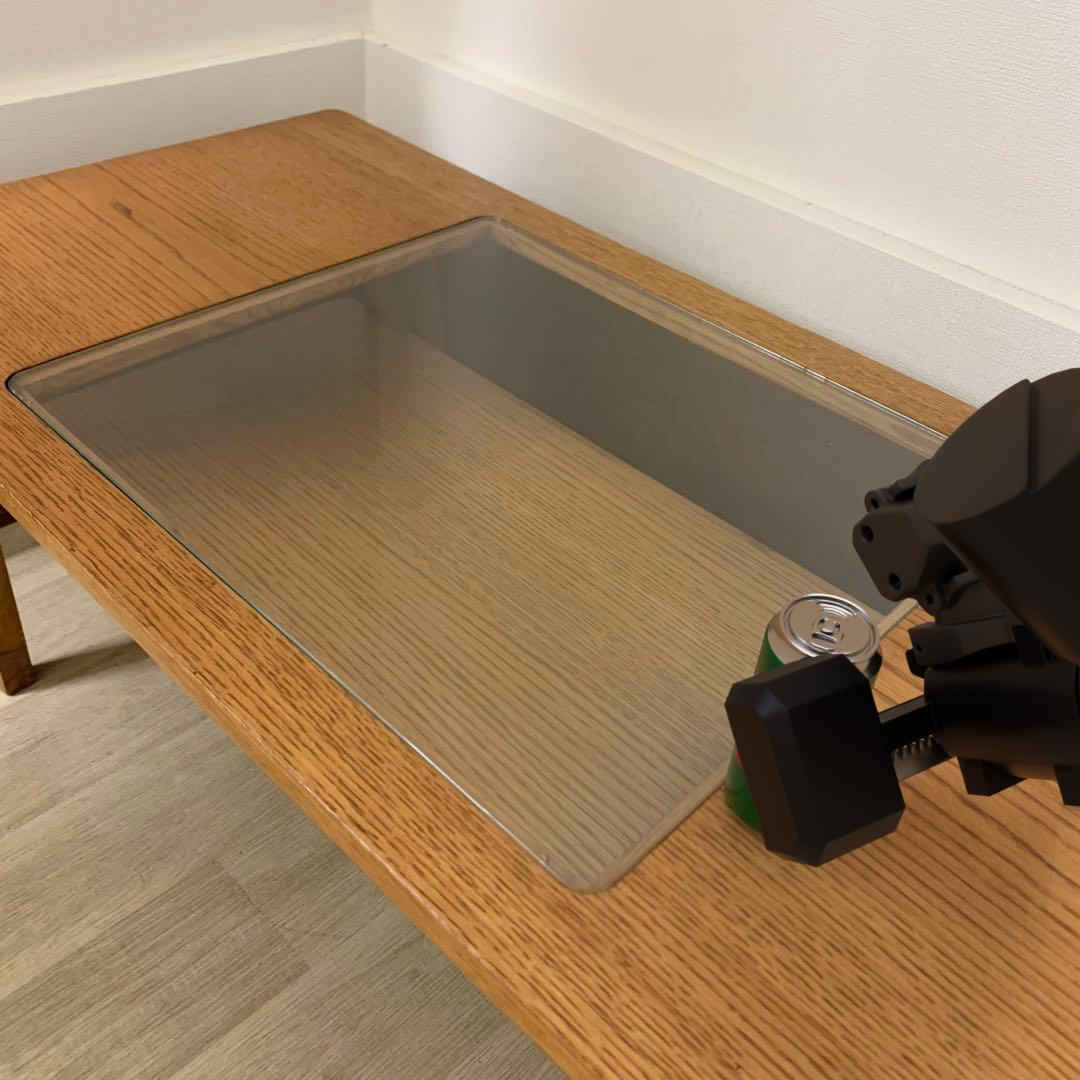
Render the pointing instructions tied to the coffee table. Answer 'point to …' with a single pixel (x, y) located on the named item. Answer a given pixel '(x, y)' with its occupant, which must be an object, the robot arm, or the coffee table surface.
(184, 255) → the coffee table surface
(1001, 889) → the coffee table surface
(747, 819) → the soda can
